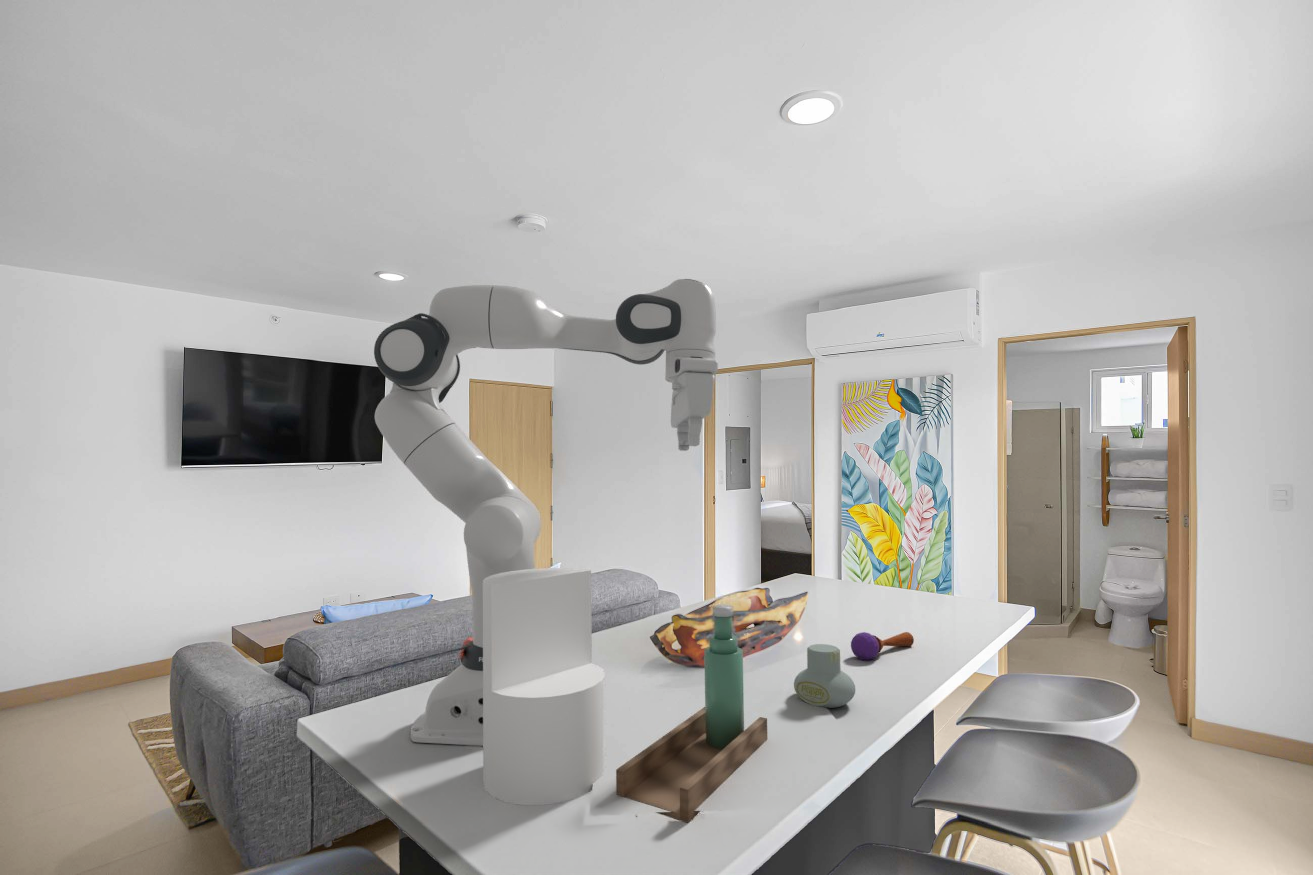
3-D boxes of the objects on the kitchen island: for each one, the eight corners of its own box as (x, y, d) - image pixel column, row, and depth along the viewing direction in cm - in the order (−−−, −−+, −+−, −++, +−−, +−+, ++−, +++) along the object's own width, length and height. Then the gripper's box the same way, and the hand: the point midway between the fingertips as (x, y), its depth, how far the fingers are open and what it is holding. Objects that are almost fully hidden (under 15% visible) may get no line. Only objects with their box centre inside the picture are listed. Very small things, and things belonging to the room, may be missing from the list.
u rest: (706, 730, 109) (705, 706, 109) (767, 744, 103) (767, 718, 103) (616, 800, 86) (616, 769, 87) (688, 822, 81) (688, 789, 81)
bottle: (708, 750, 99) (706, 611, 100) (703, 733, 105) (701, 603, 106) (747, 748, 100) (745, 610, 100) (740, 732, 106) (738, 602, 106)
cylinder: (460, 774, 94) (460, 578, 95) (559, 738, 106) (557, 564, 108) (528, 820, 82) (527, 594, 83) (630, 773, 94) (628, 576, 95)
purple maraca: (921, 631, 155) (870, 639, 143) (916, 656, 155) (865, 666, 143) (898, 622, 160) (848, 629, 148) (894, 646, 160) (843, 654, 148)
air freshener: (786, 701, 121) (785, 647, 122) (810, 690, 127) (809, 638, 128) (840, 717, 114) (838, 658, 114) (863, 704, 120) (861, 648, 120)
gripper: (664, 381, 127) (662, 452, 125) (682, 357, 107) (680, 442, 105) (696, 382, 128) (694, 453, 126) (720, 359, 108) (718, 443, 106)
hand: (688, 448), depth 116 cm, fingers open, 8 cm apart
